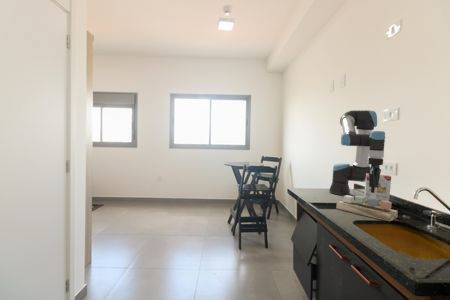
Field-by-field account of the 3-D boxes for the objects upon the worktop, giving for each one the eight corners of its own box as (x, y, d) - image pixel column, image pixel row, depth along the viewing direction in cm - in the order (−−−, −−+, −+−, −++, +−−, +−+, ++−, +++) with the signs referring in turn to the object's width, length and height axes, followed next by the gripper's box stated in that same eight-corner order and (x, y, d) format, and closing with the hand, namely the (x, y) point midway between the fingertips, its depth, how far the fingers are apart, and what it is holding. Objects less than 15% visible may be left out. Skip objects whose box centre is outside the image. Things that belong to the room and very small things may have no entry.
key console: (345, 205, 180) (345, 199, 180) (397, 217, 158) (397, 210, 157) (336, 208, 172) (336, 202, 172) (389, 221, 150) (390, 214, 149)
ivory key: (346, 204, 175) (346, 195, 175) (353, 206, 172) (353, 196, 172) (342, 205, 172) (343, 196, 172) (350, 207, 169) (350, 197, 169)
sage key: (357, 205, 170) (358, 195, 170) (365, 206, 167) (365, 197, 166) (354, 206, 167) (355, 196, 167) (362, 207, 164) (362, 198, 164)
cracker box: (364, 206, 181) (366, 174, 179) (363, 203, 186) (365, 173, 185) (388, 209, 176) (391, 176, 174) (387, 206, 181) (389, 175, 180)
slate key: (369, 207, 165) (370, 197, 165) (377, 209, 162) (378, 199, 161) (366, 209, 162) (367, 198, 162) (374, 210, 159) (375, 200, 158)
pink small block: (382, 210, 160) (383, 200, 159) (390, 212, 157) (391, 202, 156) (379, 211, 157) (380, 201, 156) (388, 213, 154) (388, 203, 153)
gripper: (373, 156, 167) (370, 195, 168) (364, 157, 158) (361, 198, 160) (387, 158, 161) (384, 198, 163) (378, 158, 153) (375, 201, 154)
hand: (372, 198), depth 161 cm, fingers closed
